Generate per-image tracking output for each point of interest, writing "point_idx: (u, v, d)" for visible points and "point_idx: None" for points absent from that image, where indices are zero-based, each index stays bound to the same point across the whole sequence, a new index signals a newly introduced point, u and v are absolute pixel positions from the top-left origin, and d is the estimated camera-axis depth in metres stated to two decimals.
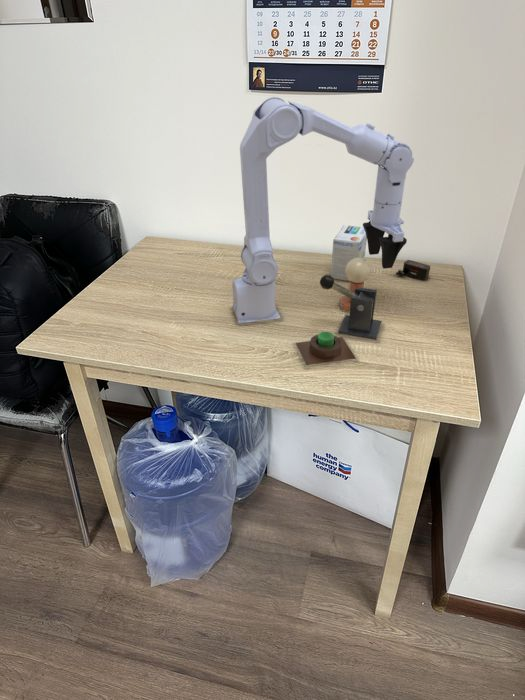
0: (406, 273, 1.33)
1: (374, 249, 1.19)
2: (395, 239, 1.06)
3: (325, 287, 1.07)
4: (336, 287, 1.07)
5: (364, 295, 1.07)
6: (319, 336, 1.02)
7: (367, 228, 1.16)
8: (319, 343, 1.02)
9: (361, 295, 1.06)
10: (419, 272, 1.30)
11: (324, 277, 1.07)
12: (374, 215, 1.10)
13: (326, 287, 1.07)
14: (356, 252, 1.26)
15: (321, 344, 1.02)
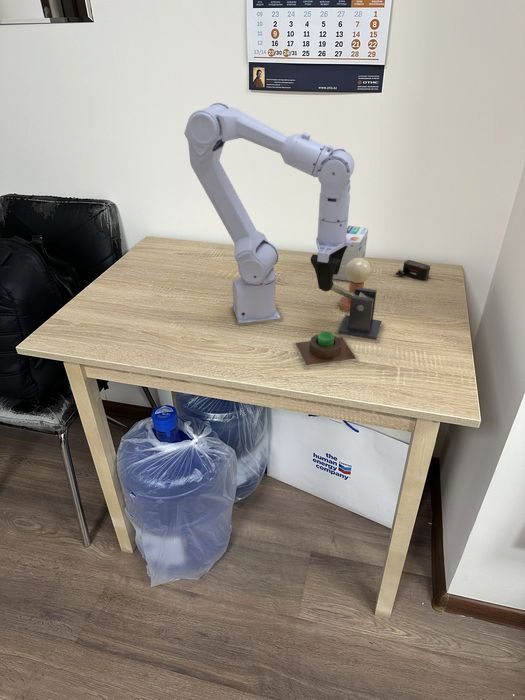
0: (406, 273, 1.33)
1: None
2: (318, 258, 0.98)
3: None
4: (335, 289, 1.07)
5: (364, 295, 1.07)
6: (319, 336, 1.02)
7: None
8: (319, 343, 1.02)
9: (361, 295, 1.06)
10: (419, 272, 1.30)
11: None
12: None
13: None
14: (356, 252, 1.26)
15: (321, 344, 1.02)
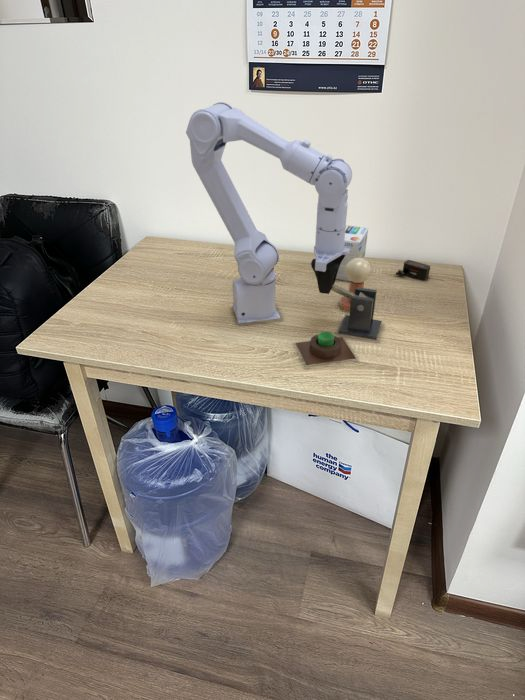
0: (406, 273, 1.33)
1: None
2: (316, 267, 0.99)
3: None
4: (335, 289, 1.07)
5: (364, 295, 1.07)
6: (319, 336, 1.02)
7: None
8: (319, 343, 1.02)
9: (361, 295, 1.06)
10: (419, 272, 1.30)
11: None
12: None
13: None
14: (356, 252, 1.26)
15: (321, 344, 1.02)
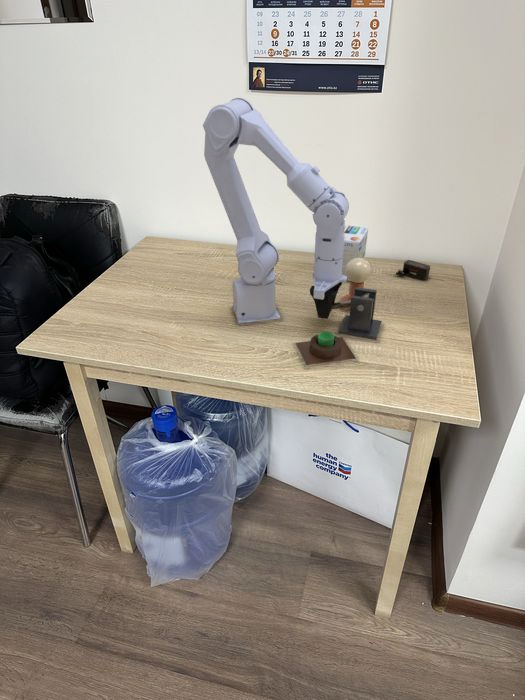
0: (406, 273, 1.33)
1: None
2: (314, 295, 1.02)
3: None
4: (333, 306, 1.10)
5: (360, 296, 1.07)
6: (319, 336, 1.02)
7: None
8: (319, 343, 1.02)
9: None
10: (419, 272, 1.30)
11: None
12: None
13: None
14: (356, 252, 1.26)
15: (321, 344, 1.02)
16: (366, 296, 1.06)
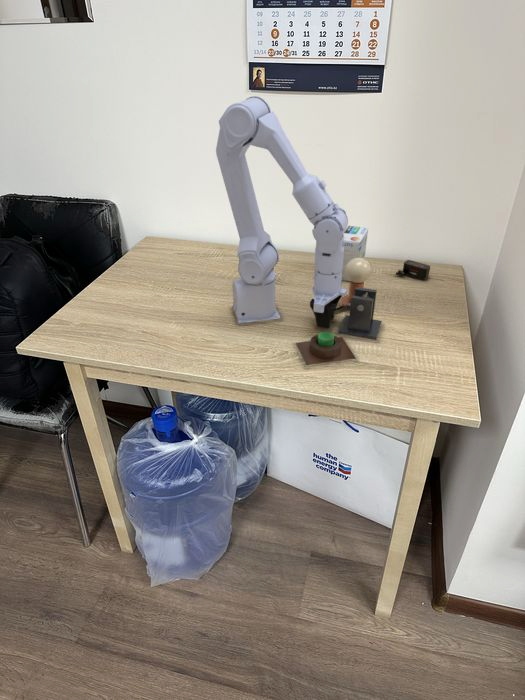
0: (406, 273, 1.33)
1: None
2: (314, 309, 1.04)
3: None
4: (335, 311, 1.10)
5: (359, 296, 1.07)
6: (319, 336, 1.02)
7: None
8: (319, 343, 1.02)
9: None
10: (419, 272, 1.30)
11: None
12: None
13: None
14: (356, 252, 1.26)
15: (321, 344, 1.02)
16: (365, 295, 1.06)
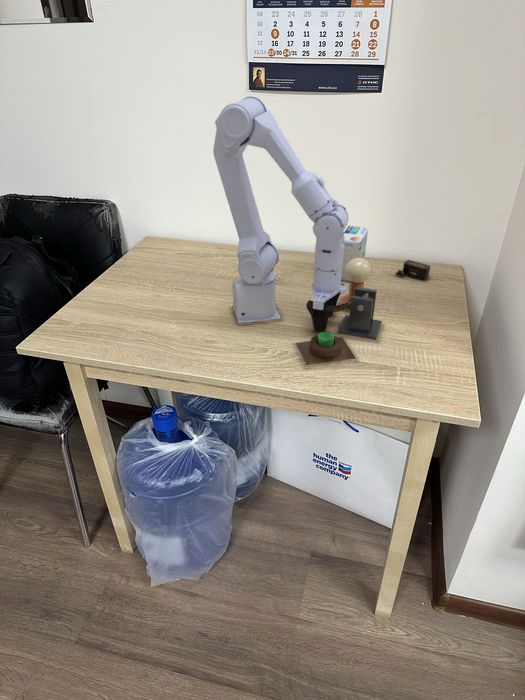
0: (406, 273, 1.33)
1: None
2: (314, 306, 1.03)
3: None
4: (334, 309, 1.10)
5: (359, 296, 1.07)
6: (319, 336, 1.02)
7: None
8: (319, 343, 1.02)
9: None
10: (419, 272, 1.30)
11: None
12: None
13: None
14: (356, 252, 1.26)
15: (321, 344, 1.02)
16: (365, 296, 1.06)
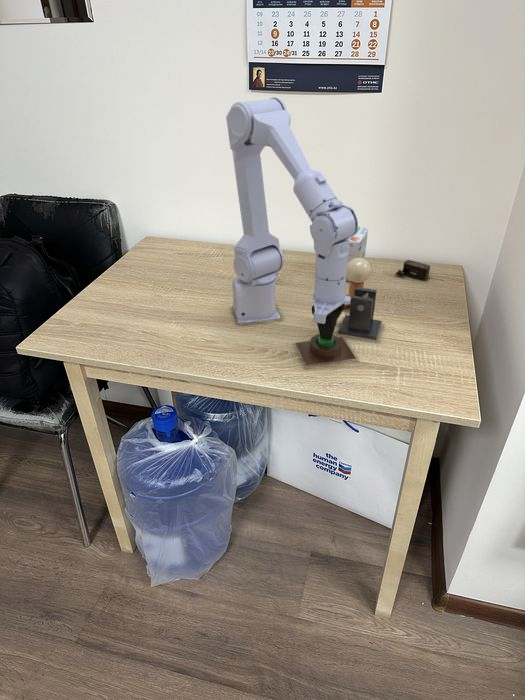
0: (406, 273, 1.33)
1: None
2: (314, 319, 0.92)
3: None
4: None
5: (359, 296, 1.07)
6: (319, 337, 1.02)
7: None
8: (319, 344, 1.02)
9: None
10: (419, 272, 1.30)
11: None
12: None
13: None
14: (356, 252, 1.26)
15: (321, 345, 1.02)
16: (365, 296, 1.06)
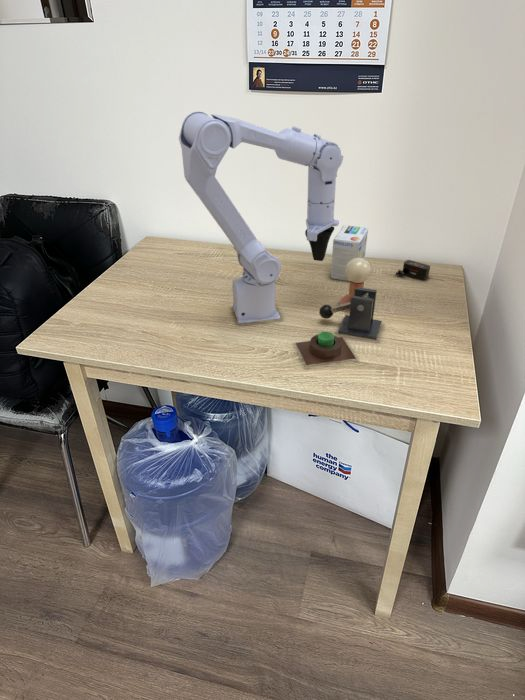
0: (406, 273, 1.33)
1: None
2: (307, 237, 1.07)
3: (326, 316, 1.11)
4: (334, 309, 1.10)
5: (359, 296, 1.07)
6: (319, 336, 1.02)
7: None
8: (319, 343, 1.02)
9: None
10: (419, 272, 1.30)
11: (320, 310, 1.11)
12: None
13: (327, 315, 1.10)
14: (356, 252, 1.26)
15: (321, 344, 1.02)
16: (365, 296, 1.06)
